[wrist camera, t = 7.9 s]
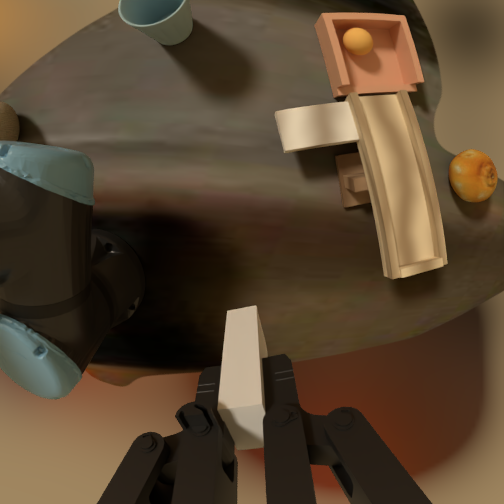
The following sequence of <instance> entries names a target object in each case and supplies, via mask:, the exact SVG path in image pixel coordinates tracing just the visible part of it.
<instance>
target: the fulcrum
mask: <svg viewBox="0 0 504 504" xmlns="http://www.w3.org/2000/svg"><path fill="white" fill-rule="evenodd" d="M335 161H336V166H337V172H338V178H339V185H340V191H341V198H342V205H343V207H344V208H345V207H350V206H355V205H360V204H366V203H371V199H370V194H369V190H368V185H367V181H366V177H365V173H364V169H363V165H362V161H361V157H360V153H359V152H357V153H350V154H343V155H337V156H335Z"/></svg>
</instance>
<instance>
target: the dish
mask: <svg viewBox="0 0 504 504" xmlns="http://www.w3.org/2000/svg"><path fill="white" fill-rule="evenodd" d="M314 26H315V29H316V32H317V35H318V39H319V42H320V46H321V49H322V53H323V57H324V60H325V64H326V68H327V72H328V76H329V80H330V84H331V88H332V92H333V97H334V98H337V97H347V96H348V95H349V93H354V92H357V93H358V95H372V94H391V93H398V92H399V91H400V90H407V93H412V92H416V91H417V88H416V84H419V83H423V82H424V79H423V75H422V71H421V67H420V63H419V60H418V56H417V52H416V49H415V46H414V42H413V39H412V36H411V33H410V30H409V27H408V24H407V21H406V18H405V16H402V15H391V14H375V13H322V14H321V16H320V17H319V19H318V21H317V22H316V24H315V25H314ZM351 28H361V29H364V30H366V31H367V32H368V33H369V34H370V35H371V37H372V39H373V47H372V49H371V51H370V52H369V53H367V54H365V55H355V54H352V53H350V52H349V51H348V50H347V49H346V48H345V46H344V44H343V36H344V34H345V32H346V31H347V30H349V29H351Z"/></svg>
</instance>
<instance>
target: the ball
mask: <svg viewBox="0 0 504 504" xmlns="http://www.w3.org/2000/svg"><path fill="white" fill-rule="evenodd" d="M343 44H344V46H345V48H346V49H347V50H348V51H349V52H350V53H352V54H355V55H365V54H367V53H369V52H370V51H371V49H372V47H373V39H372V37H371V35H370V34H369V33H368V32H367V31H366V30H364V29H361V28H351V29H349V30H347V31H346V32H345V34H344V36H343Z"/></svg>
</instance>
